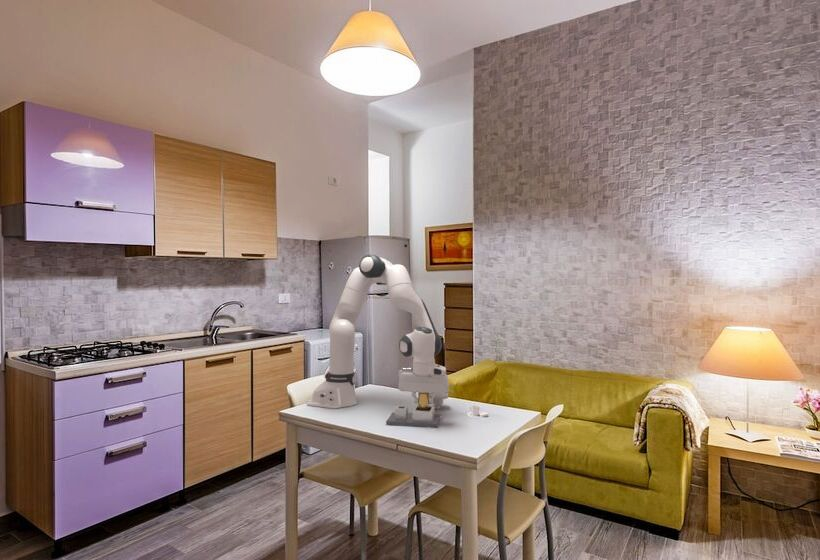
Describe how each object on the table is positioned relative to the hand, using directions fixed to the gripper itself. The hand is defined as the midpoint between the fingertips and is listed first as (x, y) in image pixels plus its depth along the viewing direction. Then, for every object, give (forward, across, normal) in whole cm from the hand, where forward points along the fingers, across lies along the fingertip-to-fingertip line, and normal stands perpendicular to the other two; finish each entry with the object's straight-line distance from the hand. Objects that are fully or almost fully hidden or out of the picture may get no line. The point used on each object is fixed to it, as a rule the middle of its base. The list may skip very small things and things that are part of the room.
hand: (423, 403), depth 183 cm
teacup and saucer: (+8, +21, +11) cm, 25 cm away
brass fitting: (+4, 0, 0) cm, 4 cm away
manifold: (+8, -4, 0) cm, 9 cm away
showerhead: (+8, +3, +21) cm, 23 cm away
